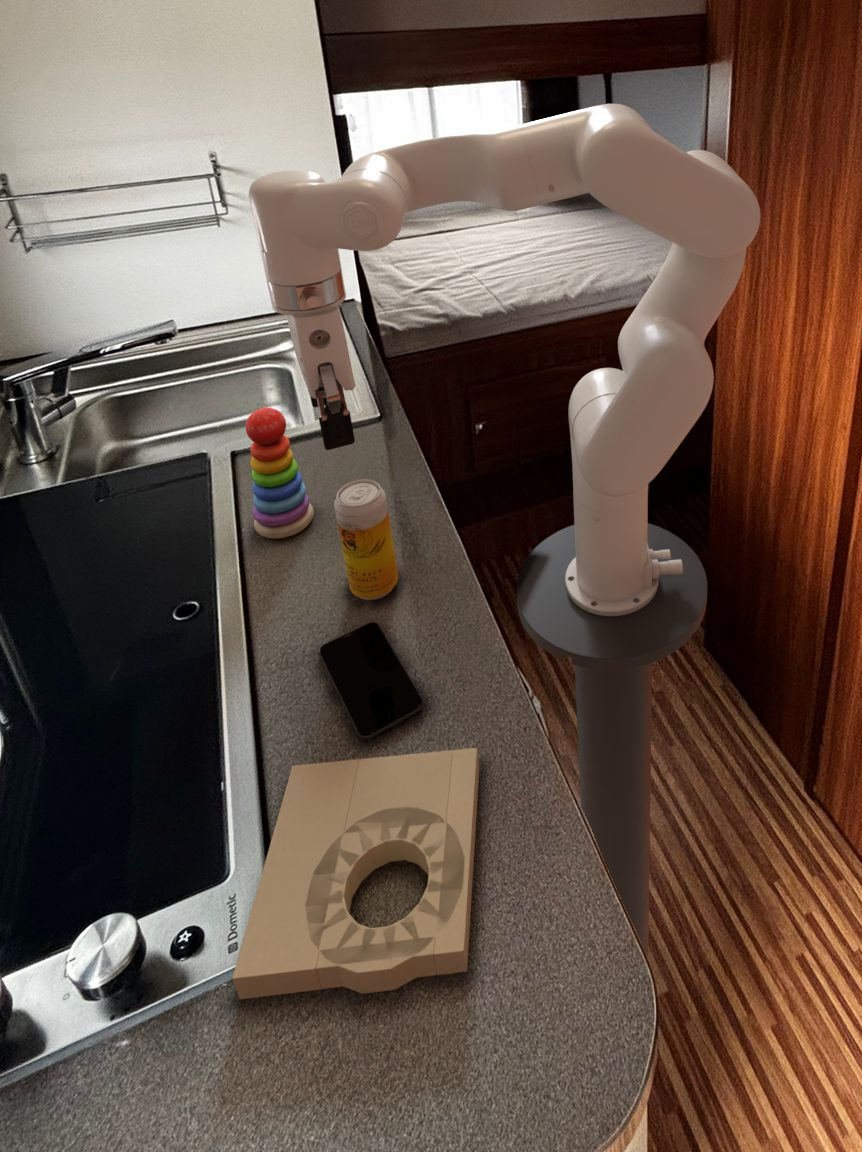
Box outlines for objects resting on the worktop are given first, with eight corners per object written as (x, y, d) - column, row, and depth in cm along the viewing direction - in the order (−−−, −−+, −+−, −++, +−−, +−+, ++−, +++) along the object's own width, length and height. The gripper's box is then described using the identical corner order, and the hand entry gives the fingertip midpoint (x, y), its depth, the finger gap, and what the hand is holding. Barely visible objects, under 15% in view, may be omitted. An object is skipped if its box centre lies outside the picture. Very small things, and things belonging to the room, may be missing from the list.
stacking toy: (312, 536, 115) (288, 424, 107) (251, 546, 113) (222, 432, 105) (317, 501, 122) (295, 393, 114) (260, 510, 120) (233, 401, 112)
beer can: (341, 597, 104) (322, 503, 98) (367, 565, 109) (350, 473, 103) (383, 607, 103) (367, 512, 96) (407, 573, 108) (393, 481, 101)
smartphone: (427, 709, 89) (377, 623, 100) (427, 703, 89) (376, 618, 100) (361, 746, 85) (316, 652, 96) (360, 740, 85) (315, 647, 96)
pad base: (479, 767, 83) (477, 747, 82) (466, 981, 66) (463, 960, 65) (297, 785, 81) (292, 765, 80) (236, 1009, 64) (228, 988, 63)
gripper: (358, 312, 81) (381, 454, 88) (331, 256, 95) (353, 382, 102) (278, 328, 78) (309, 473, 85) (262, 267, 92) (289, 397, 99)
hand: (333, 423), depth 94 cm, fingers open, 9 cm apart
